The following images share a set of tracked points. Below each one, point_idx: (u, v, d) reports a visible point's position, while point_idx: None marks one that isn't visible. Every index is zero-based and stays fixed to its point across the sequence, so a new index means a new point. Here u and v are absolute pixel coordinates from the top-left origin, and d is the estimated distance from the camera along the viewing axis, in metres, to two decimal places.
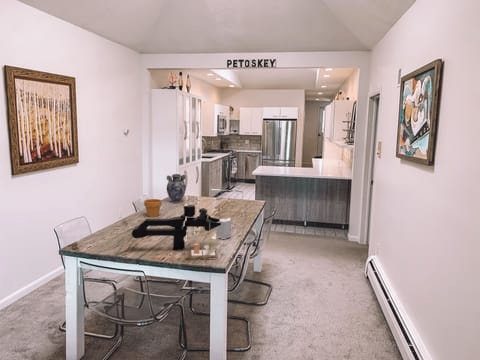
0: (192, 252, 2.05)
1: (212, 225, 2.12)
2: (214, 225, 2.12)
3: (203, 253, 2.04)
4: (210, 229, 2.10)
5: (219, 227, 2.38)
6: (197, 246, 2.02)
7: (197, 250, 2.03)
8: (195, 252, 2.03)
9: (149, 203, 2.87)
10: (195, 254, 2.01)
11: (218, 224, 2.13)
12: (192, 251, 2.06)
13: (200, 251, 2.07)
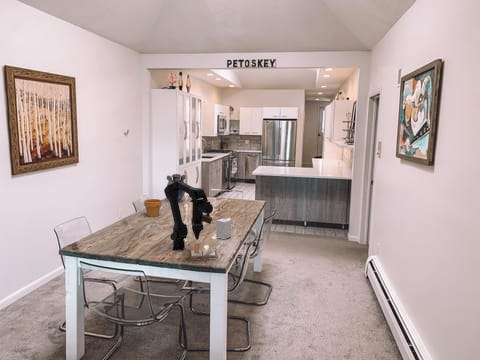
0: (192, 252, 2.05)
1: (196, 231, 1.97)
2: (196, 233, 1.97)
3: (203, 253, 2.04)
4: (193, 230, 1.94)
5: (219, 227, 2.38)
6: (197, 246, 2.02)
7: (197, 250, 2.03)
8: (195, 252, 2.03)
9: (149, 203, 2.87)
10: (195, 254, 2.01)
11: (197, 237, 1.98)
12: (192, 251, 2.06)
13: (200, 251, 2.07)
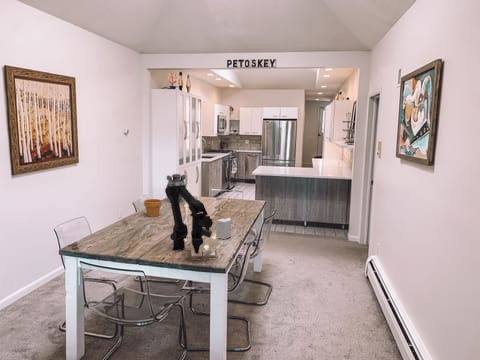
0: (192, 252, 2.05)
1: (196, 245, 1.98)
2: (196, 247, 1.98)
3: (203, 253, 2.04)
4: (193, 244, 1.95)
5: (219, 227, 2.38)
6: None
7: None
8: (195, 252, 2.03)
9: (149, 203, 2.87)
10: (195, 254, 2.01)
11: (196, 251, 1.99)
12: (192, 251, 2.06)
13: (200, 251, 2.07)
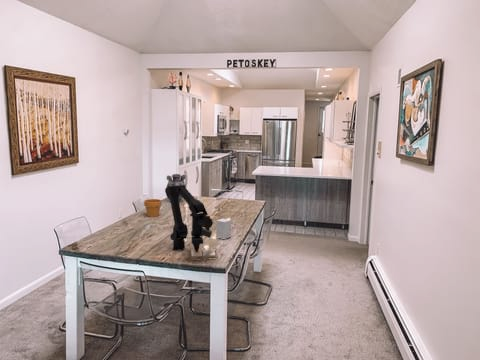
0: (192, 252, 2.05)
1: (196, 243, 2.01)
2: (195, 245, 2.01)
3: (203, 253, 2.04)
4: None
5: (219, 227, 2.38)
6: None
7: None
8: (195, 252, 2.03)
9: (149, 203, 2.87)
10: (195, 254, 2.01)
11: (196, 249, 2.02)
12: (192, 251, 2.06)
13: (200, 251, 2.07)
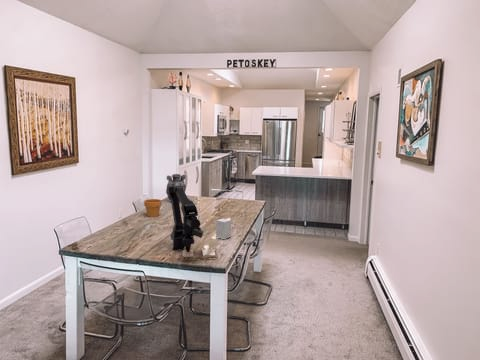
0: (184, 252, 2.04)
1: (187, 243, 2.00)
2: (187, 245, 2.00)
3: (203, 253, 2.04)
4: None
5: (219, 227, 2.38)
6: None
7: None
8: (186, 252, 2.02)
9: (149, 203, 2.87)
10: (186, 254, 2.01)
11: (188, 249, 2.01)
12: (184, 251, 2.05)
13: (192, 251, 2.06)
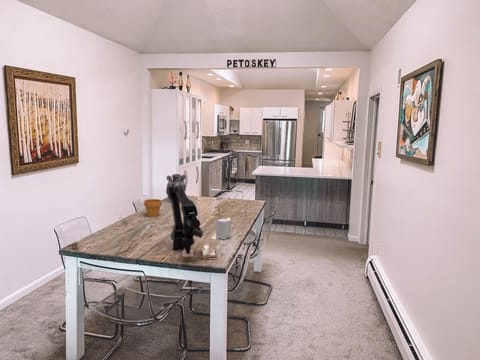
0: (184, 252, 2.04)
1: (187, 245, 1.97)
2: (187, 247, 1.97)
3: (203, 253, 2.04)
4: (183, 244, 1.94)
5: (219, 227, 2.38)
6: None
7: None
8: (186, 252, 2.02)
9: (149, 203, 2.87)
10: (186, 254, 2.01)
11: (187, 251, 1.98)
12: (183, 251, 2.05)
13: (191, 251, 2.06)
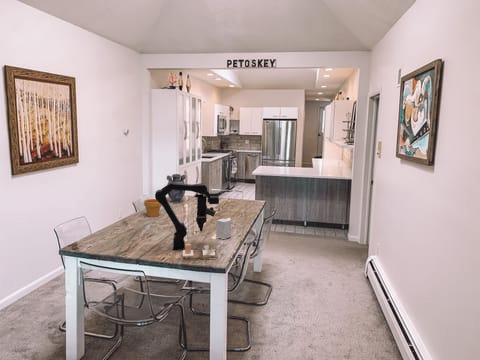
0: (184, 252, 2.04)
1: (200, 223, 2.11)
2: (200, 225, 2.12)
3: (203, 253, 2.04)
4: (197, 222, 2.09)
5: (219, 227, 2.38)
6: (188, 246, 2.02)
7: (189, 250, 2.02)
8: (186, 252, 2.02)
9: (149, 203, 2.87)
10: (186, 254, 2.01)
11: (201, 228, 2.13)
12: (183, 251, 2.05)
13: (191, 251, 2.06)
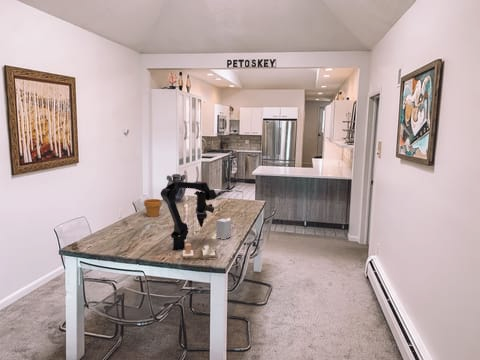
0: (184, 252, 2.04)
1: (200, 219, 2.21)
2: (200, 221, 2.21)
3: (203, 253, 2.04)
4: (197, 218, 2.18)
5: (219, 227, 2.38)
6: (188, 246, 2.02)
7: (189, 250, 2.02)
8: (186, 252, 2.02)
9: (149, 203, 2.87)
10: (186, 254, 2.01)
11: (201, 224, 2.22)
12: (183, 251, 2.05)
13: (191, 251, 2.06)
